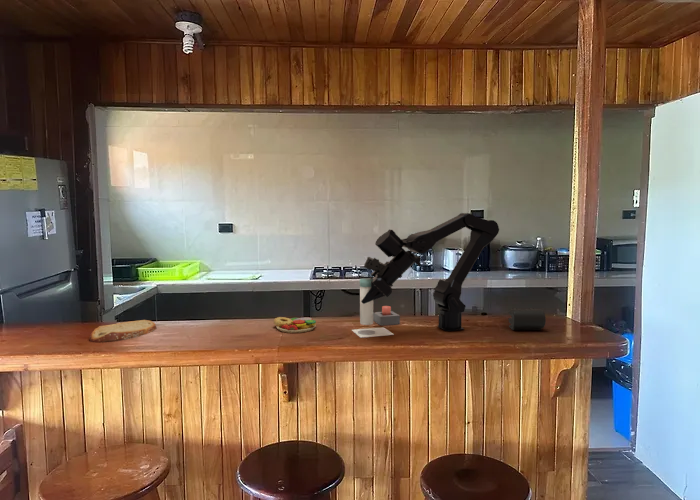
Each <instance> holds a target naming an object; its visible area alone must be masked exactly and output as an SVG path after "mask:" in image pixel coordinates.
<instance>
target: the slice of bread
mask: <svg viewBox="0 0 700 500" xmlns="http://www.w3.org/2000/svg"><path fill="white" fill-rule="evenodd" d="M157 329H158V328H157V325H156V323H155V322H154V321H152V320H147V319H141V320H140V319H139V320H131V321H122V322H117V323H114V324H113V323H112V324H107V325H99V326H98V327H96V328H94V330H93V331H91V333H90V334H89V342H90V343H99V344H100V343H107V342H109V343H110V342H119V341H126V340H130V339H134V338H138V337H140V336H144V335H147V334H151V333H152V332H154V331H155V330H157Z"/></svg>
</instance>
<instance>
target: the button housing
mask: <svg viewBox="0 0 700 500" xmlns="http://www.w3.org/2000/svg"><path fill="white" fill-rule="evenodd" d="M400 316H401V315H400V314H398V313H396V312H394V311H393V310H391V315H384V316H383V315H382V311H376V312H374V311H373V323H376V324H377V325H379V326H393V325H401V317H400Z"/></svg>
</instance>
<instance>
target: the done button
mask: <svg viewBox="0 0 700 500" xmlns="http://www.w3.org/2000/svg"><path fill="white" fill-rule="evenodd" d="M391 311H392V306H389V305H383V306H381V312H382V315H383V316H384V315H391Z"/></svg>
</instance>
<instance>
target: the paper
mask: <svg viewBox="0 0 700 500" xmlns="http://www.w3.org/2000/svg"><path fill="white" fill-rule="evenodd" d="M351 331H352V332H353V333H354V334H355V335H356V336H358V337H359V338H361V339H363V338H372V337H374V338H375V337H384V336H385V337H386V336H394V335H395V334H394V333H392V332H391V331H390V330H389V329H387V328H385V327H370V328H358V329H351Z"/></svg>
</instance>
